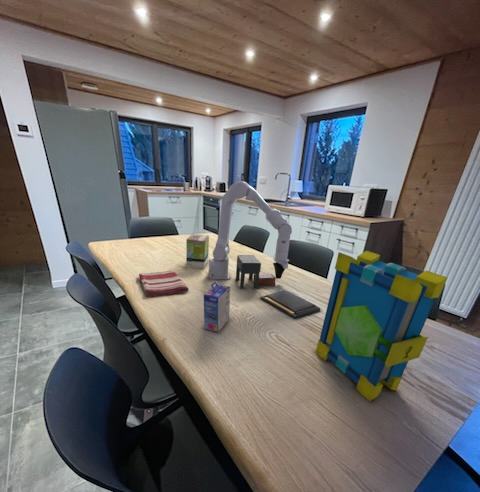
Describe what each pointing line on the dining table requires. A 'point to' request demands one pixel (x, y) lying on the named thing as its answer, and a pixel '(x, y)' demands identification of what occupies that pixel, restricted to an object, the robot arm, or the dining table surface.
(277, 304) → the wallet
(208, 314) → the ink cartridge box
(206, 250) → the tea box
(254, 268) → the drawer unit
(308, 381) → the dining table surface
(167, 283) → the dish towel
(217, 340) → the dining table surface
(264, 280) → the storage box
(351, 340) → the decorative book
